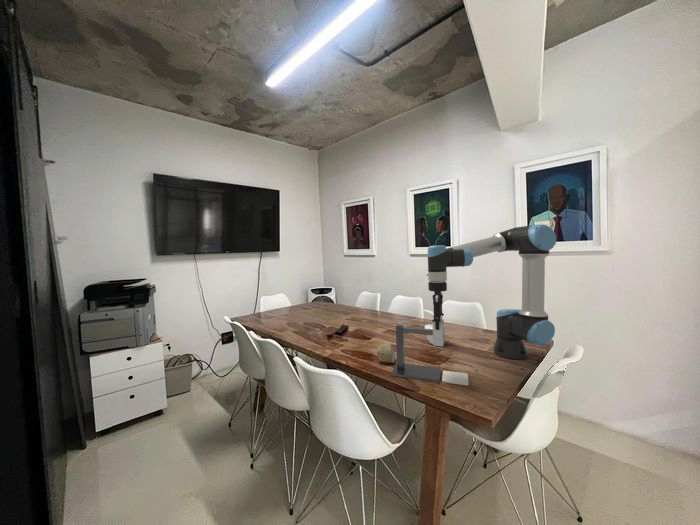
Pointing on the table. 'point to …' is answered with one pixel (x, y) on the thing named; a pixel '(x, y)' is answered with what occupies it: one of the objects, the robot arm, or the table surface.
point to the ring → (437, 340)
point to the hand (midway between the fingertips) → (438, 333)
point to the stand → (409, 369)
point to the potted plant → (430, 327)
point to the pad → (455, 378)
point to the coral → (386, 353)
